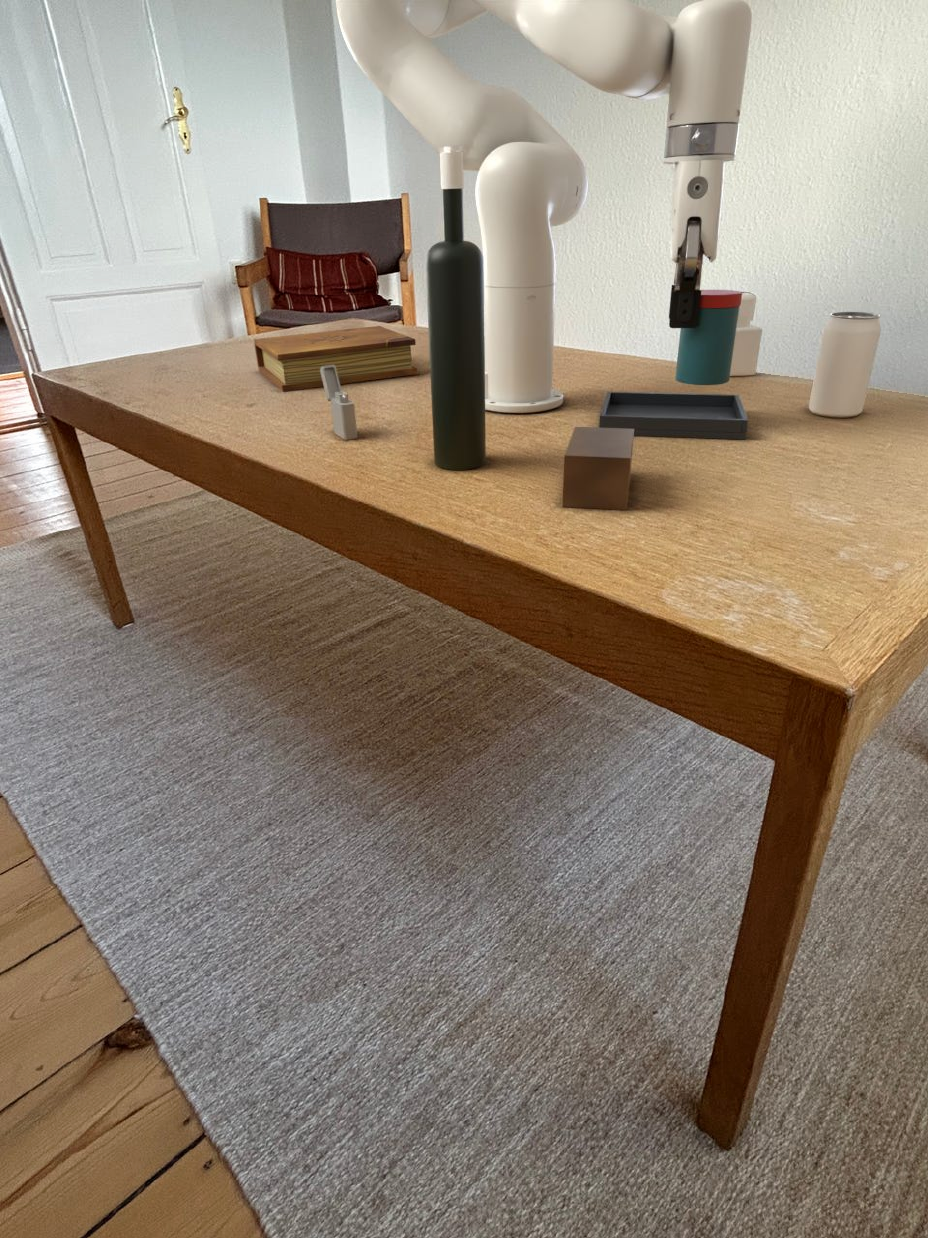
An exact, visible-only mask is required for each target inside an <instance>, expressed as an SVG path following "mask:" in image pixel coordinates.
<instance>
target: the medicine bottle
mask: <svg viewBox="0 0 928 1238" xmlns="http://www.w3.org/2000/svg"><path fill="white" fill-rule="evenodd" d="M741 292H742V299H741V305H740V307H739V314H738V321H737V328H736V335H735V342H734V349H733V356H732V363H731V371H730V377H745V376H755V375H756V372H757V367H758V360H759V354H760V349H761V342H762V335H763V328H762V327H760V326H757V325H753V324H751V323H752V322H753V321H754V316H755V310H756V303H757V296H756V295H755V294H753V293H751V292H748V291H741Z"/></svg>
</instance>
